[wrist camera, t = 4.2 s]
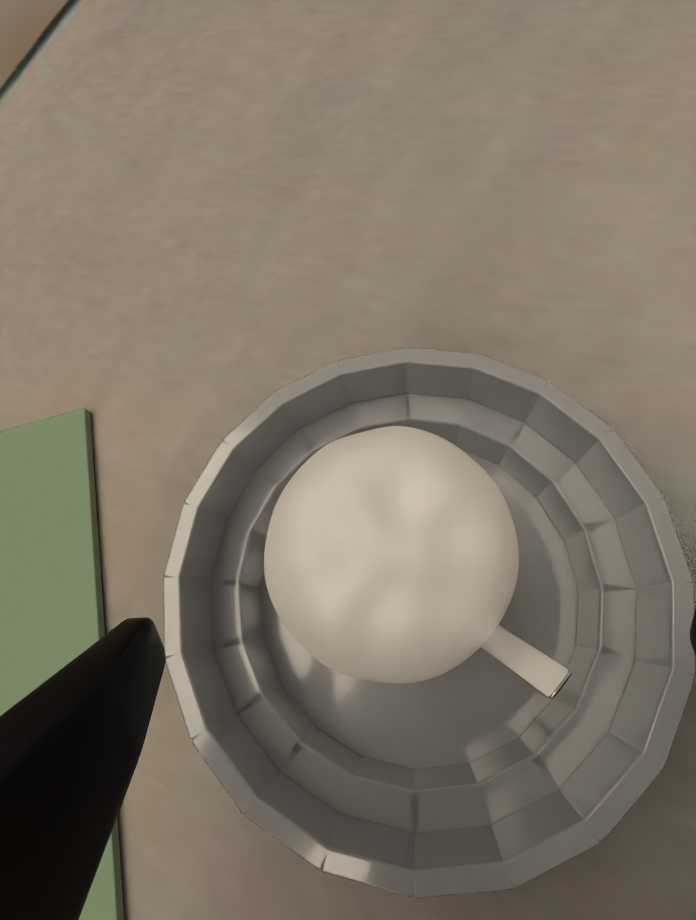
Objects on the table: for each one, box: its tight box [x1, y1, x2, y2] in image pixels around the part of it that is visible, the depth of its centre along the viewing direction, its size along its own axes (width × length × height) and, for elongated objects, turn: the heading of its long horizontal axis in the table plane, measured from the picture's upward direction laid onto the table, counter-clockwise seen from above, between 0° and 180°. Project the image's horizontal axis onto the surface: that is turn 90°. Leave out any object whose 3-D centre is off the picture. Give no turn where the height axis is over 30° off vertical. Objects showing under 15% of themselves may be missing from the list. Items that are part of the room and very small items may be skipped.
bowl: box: [163, 348, 695, 898], centre depth 15 cm, size 13×13×4 cm
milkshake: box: [264, 426, 572, 699], centre depth 12 cm, size 4×5×10 cm
